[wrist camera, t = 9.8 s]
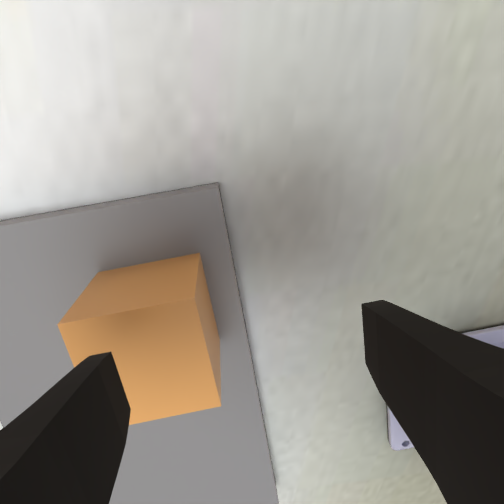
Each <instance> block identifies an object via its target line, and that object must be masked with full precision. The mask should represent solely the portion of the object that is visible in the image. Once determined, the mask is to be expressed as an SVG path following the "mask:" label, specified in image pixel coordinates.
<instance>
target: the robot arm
mask: <svg viewBox="0 0 504 504" xmlns="http://www.w3.org/2000/svg"><path fill="white" fill-rule="evenodd" d="M362 317H363V332H364V346H365V361H366V365H367V367H368V369H369V372H370V374H371V376H372V378H373V380H374V382H375V384H376V386H377V388H378V391H379V393H380V394H381V396H382V398H383V399H384V401H385V402H386V404H387V411H388V432H389V444H390V446H391V448H392V449H393V450H403V449H408V448H412V447H415V449H416V450H417V452H418V453H419V455H420V457H421V458H422V460H423V461H424V463H425V464H426V466H427V468H428V469H429V471H430V473H431V474H432V476H433V478H434V479H435V481H436V483H437V485H438V487H439V489H440V490H441V492H442V494H443V496H444V498H445V500H446V502H447V504H504V325H502V326H497V327H492V328H487V329H482V330H476V331H471V332H466V333H459V332H457V331H454V330H452V329H449V328H447V327H444V326H442V325H440V324H437V323H435V322H433V321H430V320H428V319H426V318H424V317H421V316H419V315H417V314H415V313H413V312H410V311H408V310H406V309H404V308H401V307H399V306H397V305H394V304H392V303H390V302H387V301H384V300H379V301H374V302H369V303H363V304H362ZM130 412H131V408H130V405H129V402H128V399H127V396H126V394H125V391H124V388H123V385H122V382H121V379H120V376H119V373H118V370H117V367H116V364H115V361H114V358H113V355H112V352H106V353H101V354H96V355H91V356H89V357H87V358H86V359H84V360H83V361H82V362H80V363H79V364H78V365H77V366H76V367H74V368H73V369H72V370H71V371H70V372H69V373H67V374H66V375H65V376H64V377H63V378H62V379H61V380H59V381H58V382H57V383H56V384H55V385H54V386H53V387H51V388H50V389H49V390H48V391H47V392H46V393H45V394H43V395H42V396H41V397H40V398H39V399H38V400H37V401H35V402H34V403H33V404H32V405H31V406H30V407H28V408H27V409H26V410H25V411H24V412H22V413H21V414H20V415H19V416H17V417H16V418H15V419H14V420H13V421H11V422H10V423H9V424H8V425H6V426H5V427H4V428H3V429H2V430H0V504H109V502H110V498H111V495H112V491H113V488H114V484H115V481H116V478H117V474H118V471H119V467H120V463H121V460H122V456H123V453H124V449H125V445H126V440H127V434H128V427H129V420H130Z"/></svg>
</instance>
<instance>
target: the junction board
mask: <svg viewBox="0 0 504 504" xmlns="http://www.w3.org/2000/svg"><path fill="white" fill-rule="evenodd" d="M196 253H200V256H201V261H202V265H203V269H204V274H205V278H206V282H207V286H208V291H209V295H210V299H211V304H212V308H213V312H214V317H215V321H216V325H217V330H218V334H219V338H220V370H221V406H220V407H215V408H210V409H205V410H200V411H196V412H191V413H186V414H181V415H176V416H171V417H166V418H162V419H157V420H152V421H147V422H142V423H137V424H132V425H129V427H128V434H127V440H126V445H125V449H124V453H123V456H122V460H121V463H120V467H119V471H118V474H117V478H116V481H115V484H114V488H113V491H112V495H111V498H110V502H109V504H279V501H278V495H277V489H276V484H275V478H274V473H273V468H272V463H271V457H270V452H269V447H268V442H267V436H266V431H265V426H264V421H263V416H262V410H261V405H260V400H259V395H258V389H257V384H256V379H255V374H254V368H253V363H252V358H251V353H250V348H249V342H248V337H247V332H246V327H245V321H244V316H243V311H242V306H241V300H240V295H239V290H238V285H237V280H236V274H235V269H234V264H233V259H232V253H231V248H230V243H229V238H228V232H227V227H226V222H225V217H224V211H223V206H222V201H221V196H220V191H219V185H218V183H212V184H207V185H201V186H195V187H190V188H184V189H178V190H173V191H167V192H161V193H156V194H150V195H144V196H139V197H133V198H128V199H122V200H116V201H111V202H105V203H99V204H94V205H88V206H82V207H77V208H71V209H65V210H60V211H54V212H48V213H43V214H37V215H31V216H26V217H20V218H14V219H9V220H3V221H0V422H1V424H2V426H3V428H4V427H5V426H6V425H8V424H9V423H10V422H11V421H13V420H14V419H15V418H16V417H17V416H19V415H20V414H21V413H22V412H24V411H25V410H26V409H27V408H28V407H30V406H31V405H32V404H33V403H34V402H35V401H37V400H38V399H39V398H40V397H41V396H42V395H43V394H45V393H46V392H47V391H48V390H49V389H50V388H51V387H53V386H54V385H55V384H56V383H57V382H58V381H59V380H61V379H62V378H63V377H64V376H65V375H66V374H67V373H69V372H70V371H71V370H72V369H73V368H74V366H73V363H72V361H71V358H70V356H69V353H68V350H67V348H66V345H65V343H64V340H63V338H62V335H61V333H60V330H59V328H58V325H57V324H58V323H59V322H60V320H61V319H62V318H63V317H64V315H65V314H66V313H67V311H68V310H69V309H70V308H71V306H72V305H73V304H74V302H75V301H76V300H77V299H78V297H79V296H80V295H81V293H82V292H83V291H84V289H85V288H86V287H87V286H88V284H89V283H90V282H91V280H92V279H93V278H94V277H95V275H96V274H97V273H98V272H102V271H107V270H112V269H117V268H123V267H128V266H133V265H138V264H143V263H149V262H154V261H159V260H164V259H170V258H175V257H180V256H185V255H190V254H196Z"/></svg>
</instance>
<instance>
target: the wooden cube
mask: <svg viewBox="0 0 504 504" xmlns="http://www.w3.org/2000/svg"><path fill="white" fill-rule="evenodd" d="M57 325H58V328H59V330H60V333H61V335H62V338H63V340H64V343H65V345H66V348H67V350H68V353H69V356H70V358H71V361H72V363H73V366H74V367H76V366H77V365H78V364H79V363H80V362H82V361H83V360H84V359H86V358H87V357H89V356H91V355H96V354H101V353H106V352H112V355H113V358H114V361H115V364H116V367H117V370H118V373H119V376H120V379H121V382H122V385H123V388H124V391H125V394H126V396H127V399H128V402H129V405H130V408H131V412H130V420H129V425H132V424H137V423H142V422H147V421H152V420H157V419H162V418H166V417H171V416H176V415H181V414H186V413H191V412H196V411H200V410H205V409H210V408H215V407H220V406H221V370H220V338H219V334H218V330H217V325H216V321H215V317H214V312H213V308H212V304H211V299H210V295H209V291H208V286H207V282H206V278H205V274H204V269H203V265H202V261H201V256H200V253H196V254H190V255H185V256H180V257H175V258H170V259H164V260H159V261H154V262H149V263H143V264H138V265H133V266H128V267H123V268H117V269H112V270H107V271H102V272H98V273H97V274H96V275H95V277H94V278H93V279H92V280H91V282H90V283H89V284H88V286H87V287H86V288H85V289H84V291H83V292H82V293H81V295H80V296H79V297H78V299H77V300H76V301H75V302H74V304H73V305H72V306H71V308H70V309H69V310H68V311H67V313H66V314H65V315H64V317H63V318H62V319H61V320H60V322H59V323H58V324H57Z"/></svg>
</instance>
